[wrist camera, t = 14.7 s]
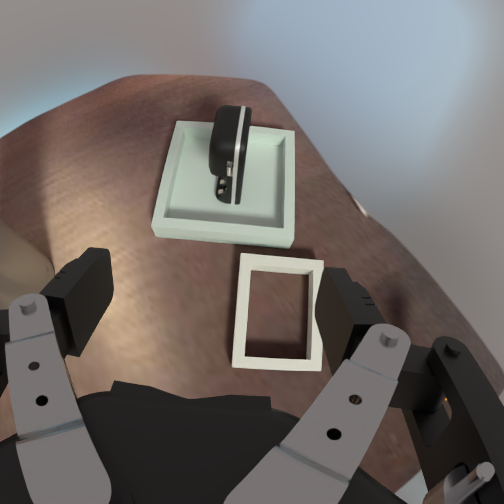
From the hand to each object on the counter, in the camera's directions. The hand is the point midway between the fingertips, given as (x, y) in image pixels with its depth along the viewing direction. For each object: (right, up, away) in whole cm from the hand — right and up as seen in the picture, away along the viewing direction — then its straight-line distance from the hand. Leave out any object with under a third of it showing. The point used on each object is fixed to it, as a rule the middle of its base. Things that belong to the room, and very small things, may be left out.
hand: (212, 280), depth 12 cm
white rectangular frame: (+4, -6, +24) cm, 25 cm away
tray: (-2, +10, +29) cm, 31 cm away
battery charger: (-2, +10, +29) cm, 30 cm away
